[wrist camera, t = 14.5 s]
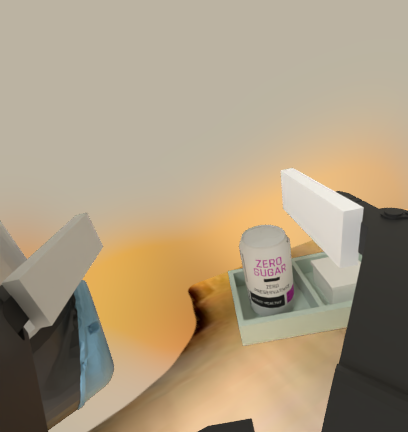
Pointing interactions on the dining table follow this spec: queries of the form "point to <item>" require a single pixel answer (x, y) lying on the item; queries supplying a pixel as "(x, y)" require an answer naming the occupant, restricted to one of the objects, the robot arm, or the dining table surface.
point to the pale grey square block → (335, 280)
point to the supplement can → (268, 269)
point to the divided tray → (302, 311)
